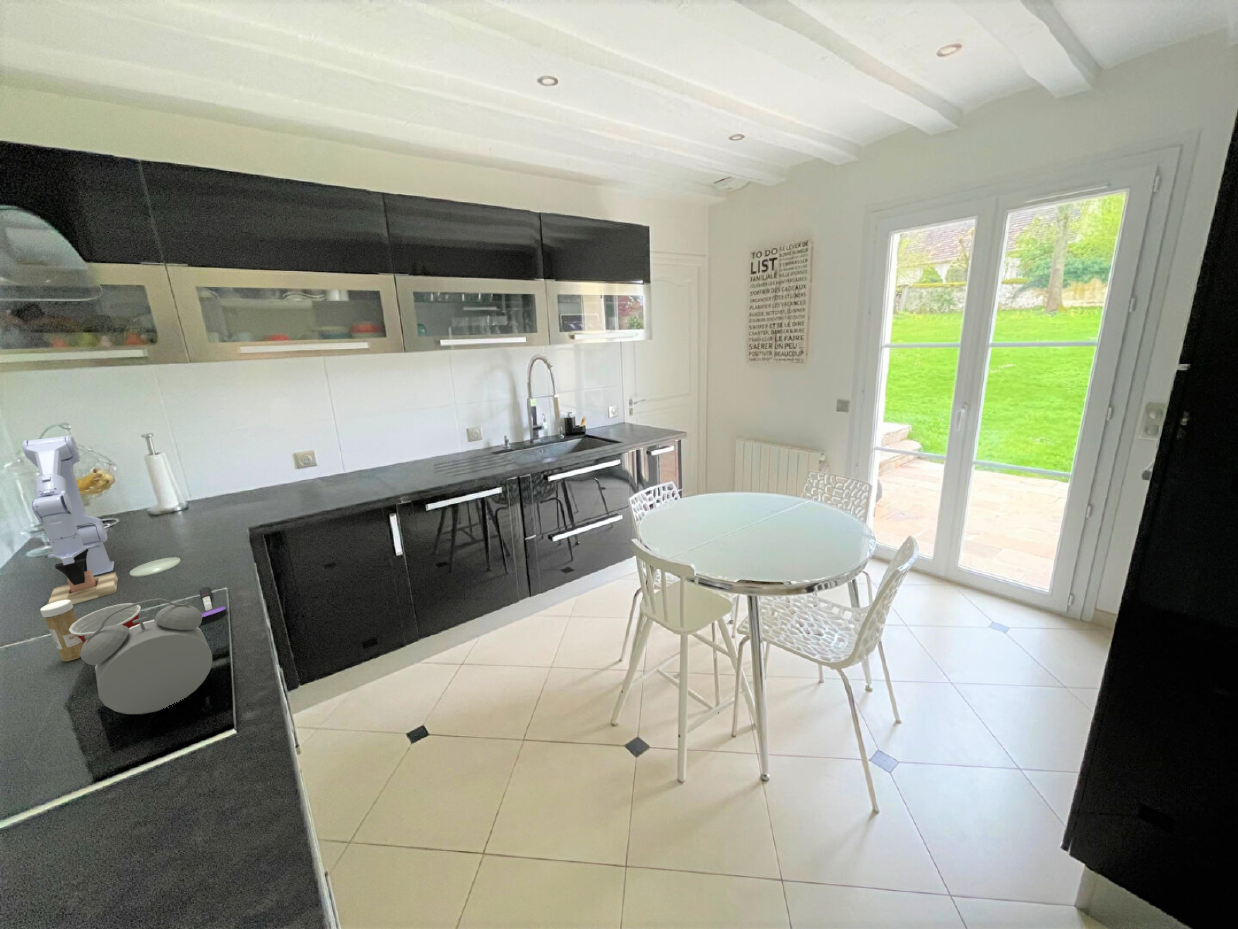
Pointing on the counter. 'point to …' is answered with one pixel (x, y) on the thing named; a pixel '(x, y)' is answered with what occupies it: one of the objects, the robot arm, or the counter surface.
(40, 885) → the counter surface
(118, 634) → the alarm clock
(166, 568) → the sage coaster
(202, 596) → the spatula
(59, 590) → the maple pocket holder
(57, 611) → the sprinkles bottle
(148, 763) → the counter surface
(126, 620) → the plastic cup
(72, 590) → the terracotta block
